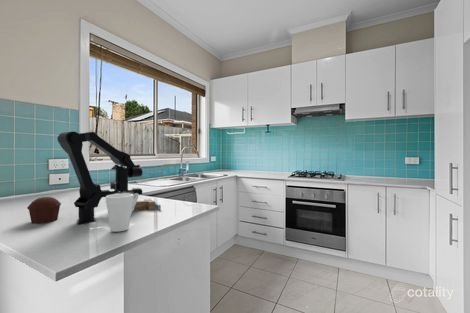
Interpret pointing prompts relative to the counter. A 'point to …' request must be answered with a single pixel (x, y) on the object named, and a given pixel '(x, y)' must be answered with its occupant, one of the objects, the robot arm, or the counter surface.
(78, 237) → the counter surface
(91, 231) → the counter surface
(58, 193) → the counter surface
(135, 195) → the salt and pepper shakers
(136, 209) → the T block
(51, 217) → the muffin
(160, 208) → the corner fence
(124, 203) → the foam cup
